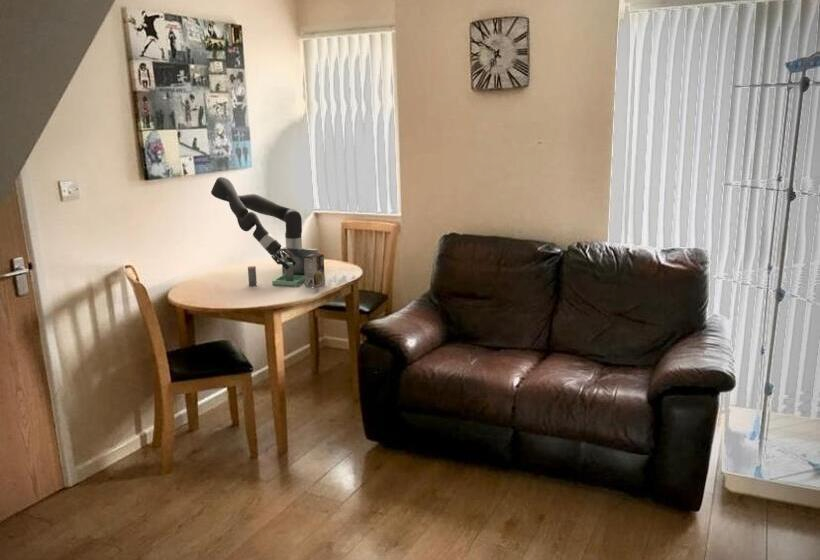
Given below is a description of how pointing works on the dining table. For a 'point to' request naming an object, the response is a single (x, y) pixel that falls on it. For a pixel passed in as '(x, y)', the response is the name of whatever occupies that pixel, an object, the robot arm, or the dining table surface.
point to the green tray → (282, 281)
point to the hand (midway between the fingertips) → (291, 266)
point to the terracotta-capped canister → (252, 275)
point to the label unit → (298, 259)
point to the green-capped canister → (289, 272)
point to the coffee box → (314, 270)
